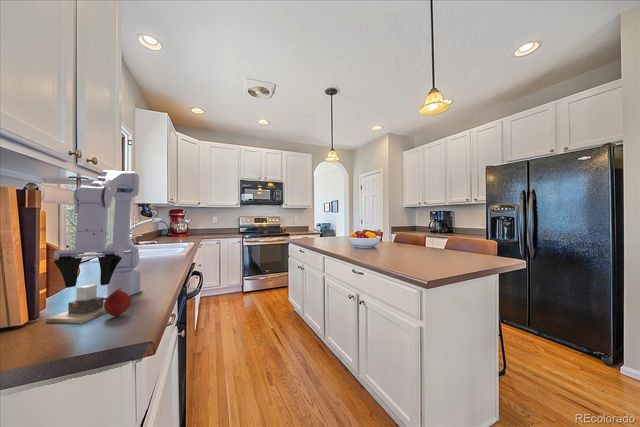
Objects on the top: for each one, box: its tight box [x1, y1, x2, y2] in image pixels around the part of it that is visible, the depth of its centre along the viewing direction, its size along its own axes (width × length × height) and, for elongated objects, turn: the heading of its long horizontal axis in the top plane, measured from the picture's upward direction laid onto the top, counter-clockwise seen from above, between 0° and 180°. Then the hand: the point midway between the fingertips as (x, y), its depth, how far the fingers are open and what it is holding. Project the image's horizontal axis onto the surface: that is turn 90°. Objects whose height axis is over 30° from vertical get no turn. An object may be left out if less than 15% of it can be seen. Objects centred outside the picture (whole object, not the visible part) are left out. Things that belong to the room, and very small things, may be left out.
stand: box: [45, 296, 108, 324], centre depth 71 cm, size 12×10×4 cm
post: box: [75, 284, 98, 302], centre depth 71 cm, size 3×3×7 cm
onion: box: [103, 288, 132, 317], centre depth 70 cm, size 6×6×8 cm
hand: (88, 285), depth 62 cm, fingers open, 7 cm apart
